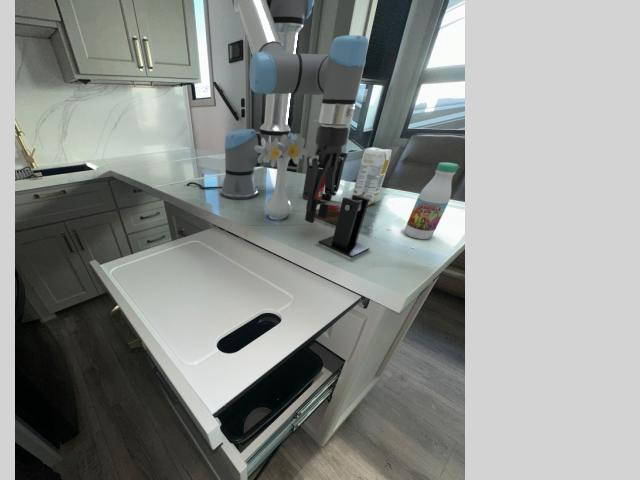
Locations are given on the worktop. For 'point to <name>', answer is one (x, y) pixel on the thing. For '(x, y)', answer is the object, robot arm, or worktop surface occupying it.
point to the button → (333, 207)
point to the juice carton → (372, 173)
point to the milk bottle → (431, 203)
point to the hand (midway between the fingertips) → (315, 219)
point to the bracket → (348, 227)
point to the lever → (334, 202)
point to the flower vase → (280, 170)
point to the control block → (329, 216)
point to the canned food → (320, 188)
